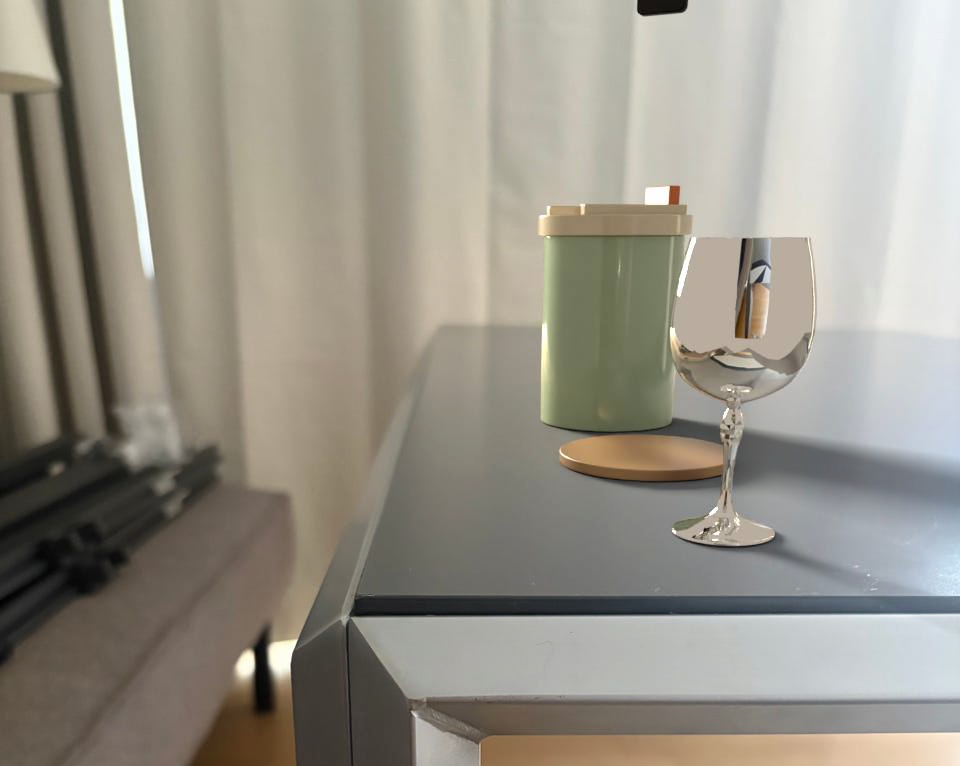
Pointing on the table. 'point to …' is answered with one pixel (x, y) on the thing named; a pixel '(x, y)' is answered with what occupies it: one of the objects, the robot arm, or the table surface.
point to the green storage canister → (609, 314)
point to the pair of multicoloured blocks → (663, 195)
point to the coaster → (644, 457)
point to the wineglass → (740, 346)
